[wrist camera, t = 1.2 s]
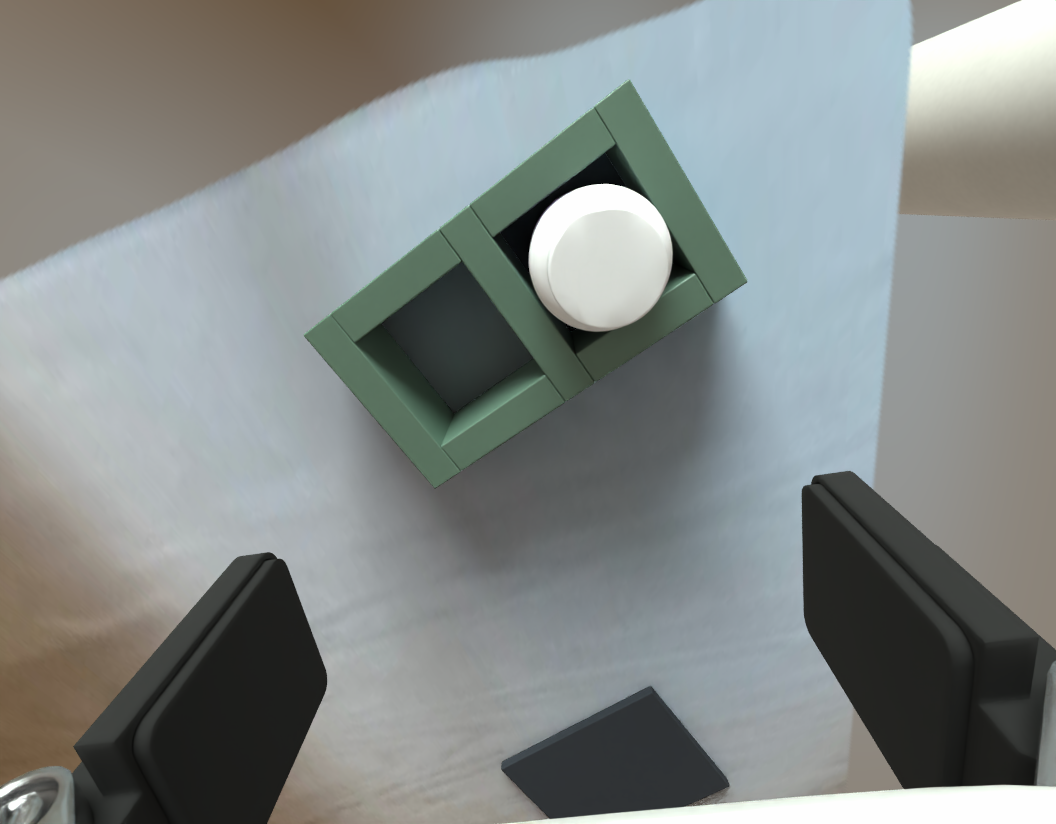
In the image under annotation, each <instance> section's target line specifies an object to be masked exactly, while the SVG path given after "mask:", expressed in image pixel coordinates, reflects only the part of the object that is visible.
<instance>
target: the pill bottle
mask: <svg viewBox="0 0 1056 824" xmlns="http://www.w3.org/2000/svg"><path fill="white" fill-rule="evenodd" d="M672 255H673V253H672V243H671V238H670V234H669V231H668V228H667V226H666V224H665V222H664V220H663V218H662V216H661V215H660V213H659V212H658V211H657V209H656V208H655V207H654V206H653V205H652V204H651V203H650V202H649V201H648V200H647V199H645V198H644V197H643V196H641V195H640V194H638V193H636V192H635V191H632V190H630V189H628V188H625V187H622V186H617V185H611V184H597V185H590V186H585V187H582V188H578V189H575V190H572V191H569V192H566V193H564V194H562V195H561V196H559V197H557V198H556V199H555V200H553V201H552V202H551V203H550V204H549V205H548V206H547V207H546V208H545V209H544V211H543V212H542V214H541V215H540V217H539V218H538V220H537V222H536V224H535V227H534V230H533V233H532V238H531V243H530V249H529V271H530V275H531V279H532V283H533V286H534V288H535V291H536V293H537V295H538V297H539V298H540V300H541V301H542V303H543V304H544V306H545V307H546V308H547V309H548V310H549V311H550V312H551V313H552V314H553V315H554V316H555V317H557V318H558V319H559V320H561V321H563V322H564V323H566V324H568V325H570V326H572V327H575V328H578V329H582V330H586V331H595V332H597V331H609V330H614V329H618V328H621V327H623V326H626V325H629V324H631V323H633V322H635V321H637V320H639V319H640V318H642V317H643V316H644V315H645V314H647V313H648V312H649V311H650V310H651V309H652V308H653V306H654V305H655V304H656V303H657V301H658V300H659V298H660V296H661V295H662V293H663V291H664V289H665V287H666V284H667V282H668V279H669V276H670V272H671V267H672Z"/></svg>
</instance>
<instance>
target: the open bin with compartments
mask: <svg viewBox="0 0 1056 824" xmlns="http://www.w3.org/2000/svg"><path fill="white" fill-rule="evenodd" d="M604 153H606V155H607V157H608V158H609V160H610V161H611V163H612V165H613V166H614V168H615V169H616V171H617V173H618V174H619V176H620V178H621V179H622V181H623V182H624V184H625V186H626V187H627V188H628V189H630V190H632V191H635V192H636V193H638V194H640V195H641V196H643V197H644V198H645V199H647V200H648V201H649V202H650V203H651V204H652V205H653V206H654V207H655V208H656V209H657V211H658V212H659V213H660V215H661V216H662V218H663V220H664V222H665V224H666V226H667V228H668V231H669V234H670V238H671V243H672V253H673V255H672V261H673V263H672V267H671V272H670V276H669V279H668V282H667V284H666V287H665V289H664V291H663V293H662V295H661V296H660V298H659V300H658V301H657V303H656V304H655V305H654V306H653V308H652V309H651V310H650V311H649V312H648V313H647V314H645V315H644V316H643V317H642V318H640V319H639V320H637V321H635V322H633V323H631V324H629V325H626V326H623V327H621V328H618V329H614V330H609V331H597V332H595V331H586V330H582V329H578V328H577V329H576V330H574V331H573V332H572V334H571V332H570V331H569V330H568V328H567V327H566V325H565V324H564V323H563V321H561V320H559V319H558V318H557V317H555V316H554V315H553V314H552V313H551V312H550V311H549V310H548V309H547V308H546V307H545V306H544V304H543V303H542V301H541V300H540V298H539V297H538V295H537V293H536V291H535V288H534V286H533V283H532V279H531V276H530V274H529V273H528V271H527V270H526V269H525V267H524V266H523V264H522V263H521V261H520V260H519V259H518V257H517V256H516V254H515V253H514V251H513V250H512V249H511V247H510V246H509V244H508V243H507V241H506V240H505V239H504V237H503V236H502V234H501V233H500V232H502V231H503V230H504V229H506V228H507V227H508V226H510V225H511V224H512V223H513V222H515V221H516V220H517V219H519V218H520V217H521V216H523V215H524V214H525V213H527V212H528V211H529V210H531V209H532V208H533V207H534V206H536V205H537V204H538V203H540V202H541V201H542V200H544V199H545V198H546V197H548V196H549V195H550V194H551V193H553V192H554V191H555V190H557V189H558V188H559V187H561V186H562V185H563V184H565V183H566V182H567V181H569V180H570V179H571V178H572V177H574V176H575V175H576V174H578V173H579V172H580V171H582V170H583V169H584V168H586V167H587V166H588V165H590V164H591V163H592V162H593V161H595V160H596V159H597V158H599V157H600V156H601V155H603V154H604ZM461 262H463V263H464V264H465V266H466V267H467V269H468V270H469V271H470V273H471V274H472V275H473V277H474V278H475V279H476V281H477V282H478V284H479V285H480V286H481V288H482V289H483V290H484V292H485V293H486V294H487V296H488V297H489V298H490V300H491V301H492V303H493V304H494V305H495V307H496V308H497V309H498V311H499V312H500V313H501V315H502V316H503V318H504V319H505V320H506V322H507V323H508V324H509V326H510V327H511V328H512V330H513V331H514V332H515V334H516V335H517V337H518V338H519V339H520V341H521V342H522V343H523V345H524V346H525V347H526V349H527V350H528V352H529V353H530V354H531V356H532V357H533V358H534V359H532V360H531V361H529V362H528V363H526V364H525V365H524V366H522V367H521V368H519V369H518V370H516V371H515V372H513V373H512V374H511V375H509V376H508V377H506V378H505V379H503V380H502V381H500V382H499V383H497V384H496V385H495V386H493V387H492V388H490V389H489V390H487V391H486V392H484V393H483V394H482V395H480V396H479V397H477V398H476V399H474V400H473V401H471V402H470V403H469V404H467V405H466V406H464V407H463V408H461V409H460V410H458V411H457V412H456V413H455V414H454V413H453V412H452V411H451V410H450V408H449V407H448V406H447V405H446V403H445V402H444V401H443V400H442V398H441V397H440V396H439V395H438V394H437V392H436V391H435V390H434V389H433V387H432V386H431V385H430V384H429V382H428V381H427V380H426V379H425V377H424V376H423V375H422V374H421V372H420V371H419V370H418V369H417V367H416V366H415V365H414V364H413V363H412V361H411V360H410V359H409V358H408V356H407V355H406V354H405V353H404V351H403V350H402V349H401V348H400V346H399V345H398V344H397V343H396V341H395V340H394V339H393V338H392V337H391V335H390V334H389V333H388V332H387V330H386V329H385V328H384V327H383V325H382V324H381V323H382V322H384V321H385V320H386V319H388V318H389V317H390V316H391V315H393V314H394V313H395V312H397V311H398V310H399V309H401V308H402V307H403V306H405V305H406V304H407V303H409V302H410V301H411V300H412V299H414V298H415V297H416V296H418V295H419V294H420V293H422V292H423V291H424V290H426V289H427V288H428V287H430V286H431V285H432V284H433V283H435V282H436V281H437V280H439V279H440V278H441V277H443V276H444V275H445V274H447V273H448V272H449V271H450V270H452V269H453V268H454V267H456V266H457V265H458V264H460V263H461ZM745 283H747V279H746V277H745V275H744V274H743V272H742V270H741V269H740V267H739V265H738V264H737V262H736V260H735V258H734V257H733V255H732V253H731V252H730V250H729V248H728V246H727V245H726V243H725V241H724V240H723V238H722V236H721V235H720V233H719V231H718V229H717V228H716V226H715V224H714V223H713V221H712V219H711V217H710V216H709V214H708V212H707V211H706V209H705V207H704V205H703V204H702V202H701V200H700V199H699V197H698V195H697V194H696V192H695V190H694V188H693V187H692V185H691V183H690V182H689V180H688V178H687V176H686V175H685V173H684V171H683V170H682V168H681V166H680V164H679V163H678V161H677V159H676V158H675V156H674V154H673V153H672V151H671V149H670V147H669V146H668V144H667V142H666V141H665V139H664V137H663V135H662V134H661V132H660V130H659V129H658V127H657V125H656V124H655V122H654V120H653V118H652V117H651V115H650V113H649V112H648V110H647V108H646V106H645V105H644V103H643V101H642V100H641V98H640V96H639V94H638V93H637V91H636V89H635V88H634V86H633V84H632V83H631V81H630V80H629V79H628V80H627V81H625V82H624V83H623V84H622V85H620V86H619V87H618V88H616V89H615V90H614V91H613V92H611V93H610V94H609V95H608V96H606V97H605V98H604V99H602V100H601V101H600V102H599V103H597V104H596V105H595V106H594V108H591V109H590V110H588V111H587V112H586V113H585V114H583V115H582V116H581V117H580V118H578V119H577V120H576V121H575V122H573V123H572V124H571V125H569V126H568V127H567V128H566V129H564V130H563V131H562V132H561V133H559V134H558V135H557V136H555V137H554V138H553V139H552V140H550V141H549V142H548V143H547V144H545V145H544V146H543V147H541V148H540V149H539V150H538V151H536V152H535V153H534V154H533V155H531V156H530V157H529V158H528V159H526V160H525V161H524V162H522V163H521V164H520V165H519V166H517V167H516V168H515V169H514V170H512V171H511V172H510V173H508V174H507V175H506V176H505V177H503V178H502V179H501V180H500V181H498V182H497V183H496V184H494V185H493V186H492V187H491V188H489V189H488V190H487V191H486V192H484V193H483V194H482V195H481V196H479V197H478V198H477V199H475V200H474V201H473V202H472V203H470V206H467V207H465V208H464V209H463V210H462V211H460V212H459V213H458V214H456V215H455V216H454V217H453V218H451V219H450V220H449V221H448V222H446V223H445V224H444V225H442V226H441V227H440V229H438V230H436V231H435V232H434V233H432V234H431V235H430V236H428V237H427V238H426V239H425V240H423V241H422V242H421V243H420V244H418V245H417V246H416V247H414V248H413V249H412V250H411V251H409V252H408V253H407V254H406V255H404V256H403V257H402V258H401V259H399V260H398V261H397V262H395V263H394V264H393V265H392V266H390V267H389V268H388V269H387V270H385V271H384V272H383V273H381V274H380V275H379V276H378V277H376V278H375V279H374V280H373V281H371V282H370V283H369V284H367V285H366V286H365V287H364V288H362V289H361V290H360V291H359V292H357V293H356V294H355V295H354V296H352V297H351V298H350V299H348V300H347V301H346V302H345V303H343V304H342V305H341V306H340V307H338V308H337V309H336V310H334V311H333V312H332V313H331V314H329V315H328V316H327V317H326V318H324V319H323V320H322V321H320V322H319V323H318V324H317V325H315V326H314V327H313V328H312V329H310V330H309V331H308V332H306V333H305V334H304V337H305V338H306V339H307V340H308V341H309V342H310V344H311V345H312V346H313V347H314V348H315V349H316V351H317V352H318V353H319V354H320V355H321V356H322V358H323V359H324V360H325V361H326V362H327V363H328V365H329V366H330V367H331V368H332V369H333V370H334V372H335V373H336V374H337V375H338V376H339V377H340V379H341V380H342V381H343V382H344V383H345V384H346V386H347V387H348V388H349V389H350V390H351V391H352V393H353V394H354V395H355V396H356V397H357V398H358V400H359V401H360V402H361V403H362V404H363V405H364V407H365V408H366V409H367V410H368V411H369V412H370V414H371V415H372V416H373V417H374V418H375V419H376V421H377V422H378V423H379V424H380V425H381V426H382V428H383V429H384V430H385V431H386V432H387V433H388V435H389V436H390V437H391V438H392V439H393V440H394V442H395V443H396V444H397V445H398V446H399V447H400V449H401V450H402V451H403V452H404V453H405V454H406V456H407V457H408V458H409V459H410V460H411V461H412V463H413V464H414V465H415V466H416V467H417V468H418V470H419V471H420V472H421V473H422V474H423V475H424V477H425V478H426V479H427V480H428V481H429V482H430V484H431V485H432V486H433V487H434V488H437V487H438V486H440V485H441V484H443V483H445V482H446V481H448V480H449V479H451V478H452V477H454V476H455V475H457V474H458V473H460V472H461V471H462V470H464V469H465V468H467V467H468V466H470V465H471V464H473V463H474V462H476V461H477V460H479V459H480V458H482V457H484V456H485V455H487V454H488V453H490V452H491V451H493V450H494V449H496V448H497V447H499V446H500V445H502V444H503V443H505V442H506V441H508V440H509V439H511V438H512V437H514V436H515V435H517V434H518V433H520V432H521V431H523V430H524V429H526V428H527V427H529V426H530V425H532V424H533V423H535V422H536V421H538V420H539V419H541V418H542V417H544V416H546V415H547V414H549V413H550V412H552V411H553V410H555V409H556V408H558V407H559V406H561V405H562V404H564V403H565V401H568V400H570V399H571V398H573V397H574V396H576V395H577V394H579V393H580V392H582V391H583V390H585V389H586V388H588V387H589V386H591V385H592V384H594V381H595V382H597V381H598V380H600V379H601V378H603V377H604V376H606V375H607V374H609V373H610V372H612V371H614V370H615V369H617V368H618V367H620V366H621V365H623V364H624V363H626V362H627V361H629V360H630V359H632V358H633V357H635V356H636V355H638V354H639V353H641V352H642V351H644V350H645V349H647V348H648V347H650V346H651V345H653V344H654V343H656V342H657V341H659V340H660V339H662V338H663V337H665V336H666V335H668V334H669V333H671V332H672V331H674V330H675V329H677V328H679V327H680V326H682V325H683V324H685V323H686V322H688V321H689V320H691V319H692V318H694V317H695V316H697V315H698V314H700V313H701V312H703V311H704V310H706V309H707V308H709V307H710V306H712V305H713V303H717V302H718V301H720V300H721V299H723V298H724V297H726V296H727V295H729V294H730V293H732V292H733V291H735V290H736V289H738V288H739V287H741V286H742V285H744V284H745Z"/></svg>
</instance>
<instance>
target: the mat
mask: <svg viewBox="0 0 1056 824" xmlns="http://www.w3.org/2000/svg"><path fill="white" fill-rule="evenodd" d="M501 769H502V771H503V772H504V773H505V774H506V775H507V776H508V777H509V778H510V779H511V780H512V781H513V782H514V783H515V784H516V785H517V786H518V787H519V788H520V789H521V790H522V791H523V792H524V793H525V794H526V795H527V796H528V797H529V798H530V799H531V800H532V801H533V802H534V803H535V804H536V805H537V806H538V807H539V808H540V809H541V810H542V811H543V812H544V813H545V814H546V815H547V816H548V817H549V818H550V819H557V818H567V817H578V816H588V815H599V814H610V813H621V812H633V811H644V810H655V809H666V808H678V807H685V806H687V805H689V804H692V803H694V802H696V801H698V800H700V799H703V798H705V797H707V796H709V795H712V794H714V793H716V792H718V791H720V790H723V789H725V788H727V787H729V783H728V780H727V778H726V777H725V776H724V774H723V773H722V772H721V771H720V770H719V768H718V767H717V766H716V765H715V763H714V762H713V761H712V760H711V759H710V757H709V756H708V755H707V754H706V753H705V751H704V750H703V749H702V748H701V746H700V745H699V744H698V743H697V742H696V740H695V739H694V738H693V737H692V736H691V734H690V733H689V732H688V731H687V729H686V728H685V727H684V726H683V725H682V723H681V722H680V721H679V720H678V719H677V717H676V716H675V715H674V714H673V712H672V711H671V710H670V709H669V708H668V706H667V705H666V704H665V703H664V702H663V700H662V699H661V698H660V697H659V695H658V694H657V693H656V692H655V691H654V689H653V688H652V687H651V686H650V687H648V688H646V689H644V690H642V691H640V692H638V693H636V694H634V695H632V696H630V697H628V698H626V699H624V700H622V701H620V702H618V703H616V704H614V705H613V706H611V707H609V708H607V709H605V710H603V711H601V712H599V713H597V714H595V715H593V716H591V717H589V718H587V719H585V720H583V721H581V722H579V723H577V724H575V725H573V726H571V727H569V728H567V729H566V730H564V731H562V732H560V733H558V734H556V735H554V736H552V737H550V738H548V739H546V740H544V741H542V742H540V743H538V744H536V745H534V746H532V747H530V748H528V749H526V750H524V751H522V752H521V753H519V754H517V755H515V756H513V757H511V758H509V759H507V760H505V761H503V762H502V766H501Z"/></svg>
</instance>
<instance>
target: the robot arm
mask: <svg viewBox="0 0 1056 824" xmlns="http://www.w3.org/2000/svg"><path fill="white" fill-rule="evenodd" d="M802 538H803V597H804V618H805V623H806V626H807V629H808V631H809V634H810V636H811V637H812V639H813V641H814V642H815V644H816V646H817V647H818V649H819V651H820V652H821V654H822V655H823V657H824V659H825V660H826V662H827V664H828V665H829V667H830V669H831V670H832V672H833V674H834V675H835V677H836V678H837V680H838V682H839V683H840V685H841V687H842V688H843V690H844V692H845V693H846V695H847V697H848V698H849V700H850V701H851V703H852V705H853V706H854V708H855V710H856V711H857V713H858V715H859V716H860V718H861V720H862V721H863V723H864V724H865V726H866V728H867V729H868V731H869V732H870V734H871V736H872V737H873V739H874V741H875V742H876V744H877V746H878V747H879V749H880V751H881V752H882V754H883V756H884V757H885V759H886V761H887V762H888V764H889V765H890V767H891V769H892V770H893V772H894V774H895V775H896V777H897V779H898V780H899V782H900V784H901V785H902V787H903V788H904V789H901V790H888V791H887V790H886V791H872V792H859V793H844V794H830V795H816V796H802V797H790V798H779V799H768V800H757V801H745V802H734V803H723V804H711V805H700V806H689V807H678V808H666V809H655V810H644V811H633V812H621V813H610V814H599V815H588V816H578V817H567V818H557V819H546V820H535V821H525V822H514V823H503V824H1056V650H1055V649H1054V648H1053V647H1052V646H1051V645H1050V644H1048V643H1047V642H1046V641H1045V640H1044V639H1043V638H1042V637H1041V636H1039V635H1038V634H1037V633H1036V632H1035V631H1034V630H1033V629H1032V628H1030V627H1029V626H1028V625H1027V624H1026V623H1025V622H1024V621H1022V620H1021V619H1020V618H1019V617H1018V616H1017V615H1016V614H1014V613H1013V612H1012V611H1011V610H1010V609H1009V608H1008V607H1007V606H1005V605H1004V604H1003V603H1002V602H1001V601H1000V600H999V599H997V598H996V597H995V596H994V595H993V594H992V593H991V592H990V591H988V590H987V589H986V588H985V587H984V586H982V584H980V583H979V582H978V581H977V580H976V579H975V578H973V576H971V575H970V574H969V573H968V572H967V571H965V569H963V568H962V567H961V566H960V565H959V564H958V563H957V562H956V561H954V560H953V559H952V558H951V557H950V556H949V555H948V554H946V553H945V552H944V551H943V550H942V549H941V548H940V547H938V546H937V545H935V544H934V543H932V541H930V540H929V539H928V538H927V537H926V536H925V535H924V534H923V533H921V532H920V531H919V530H918V529H917V528H916V527H915V526H913V525H912V524H911V523H910V522H909V521H908V520H906V519H905V518H904V517H903V516H902V515H901V514H900V513H899V512H898V511H896V510H895V509H894V508H893V507H892V506H891V505H890V504H889V503H887V502H886V501H885V500H884V499H883V498H881V496H879V495H878V494H877V493H876V492H875V491H874V490H873V489H872V488H870V487H869V486H868V485H867V484H866V483H865V482H864V481H863V480H861V479H860V478H859V477H858V476H857V475H856V474H855V473H853V472H851V471H845V472H838V473H831V474H824V475H817V476H814V477H813V479H812V482H811V485H806V486H804V487H803V489H802ZM326 687H327V673H326V669H325V666H324V664H323V661H322V658H321V656H320V653H319V650H318V648H317V645H316V642H315V640H314V637H313V634H312V632H311V629H310V626H309V624H308V621H307V618H306V616H305V613H304V610H303V607H302V605H301V602H300V599H299V597H298V594H297V591H296V589H295V586H294V583H293V581H292V578H291V575H290V573H289V570H288V567H287V565H286V563H285V562H284V561H283V560H282V559H277V557H276V556H275V555H274V554H272V553H270V552H268V553H260V554H253V555H246V556H240V557H237V558H236V559H235V560H234V561H233V562H232V563H231V564H230V565H229V566H228V568H227V569H226V570H225V571H224V572H223V573H222V575H221V576H220V577H219V578H218V579H217V580H216V582H215V583H214V584H213V585H212V586H211V587H210V588H209V590H208V591H207V592H206V593H205V594H204V595H203V597H202V598H201V599H200V600H199V601H198V602H197V604H196V605H195V606H194V607H193V608H192V609H191V611H190V612H189V613H188V614H187V615H186V616H185V617H184V619H183V620H182V621H181V622H180V623H179V624H178V626H177V627H176V628H175V629H174V630H173V631H172V633H171V634H170V635H169V636H168V637H167V638H166V640H165V641H164V642H163V643H162V644H161V645H160V647H159V648H158V649H157V650H156V651H155V652H154V653H153V655H152V656H151V657H150V658H149V659H148V660H147V662H146V663H145V664H144V665H143V666H142V667H141V669H140V670H139V671H138V672H137V673H136V674H135V676H134V677H133V678H132V679H131V680H130V681H129V682H128V684H127V685H126V686H125V687H124V688H123V689H122V691H121V692H120V693H119V694H118V695H117V696H116V698H115V699H114V700H113V701H112V702H111V703H110V705H109V706H108V707H107V708H106V709H105V710H104V711H103V713H102V714H101V715H100V716H99V717H98V718H97V720H96V721H95V722H94V723H93V724H92V725H91V727H90V728H89V729H88V730H87V731H86V732H85V734H84V735H83V736H82V737H81V738H80V739H79V741H78V742H77V743H76V744H75V745H74V746H73V747H74V749H75V750H76V752H77V754H78V755H79V757H80V759H81V760H82V762H81V763H80V765H79V766H78V767H77V768H76V769H75V771H74V772H73V773H71V771H70V770H68V769H66V768H64V767H62V766H53V767H44V768H41V769H37V770H34V771H30V772H28V773H26V774H24V775H21V776H19V777H17V778H15V779H13V780H11V781H9V782H7V783H6V784H4V785H2V786H1V787H0V824H267V822H268V820H269V818H270V815H271V813H272V811H273V809H274V806H275V804H276V802H277V800H278V797H279V795H280V793H281V791H282V788H283V786H284V784H285V782H286V779H287V777H288V775H289V773H290V770H291V768H292V766H293V764H294V762H295V759H296V757H297V755H298V753H299V750H300V748H301V746H302V744H303V741H304V739H305V737H306V735H307V732H308V730H309V728H310V726H311V723H312V721H313V719H314V717H315V714H316V712H317V710H318V708H319V705H320V703H321V701H322V699H323V696H324V694H325V691H326Z"/></svg>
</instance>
